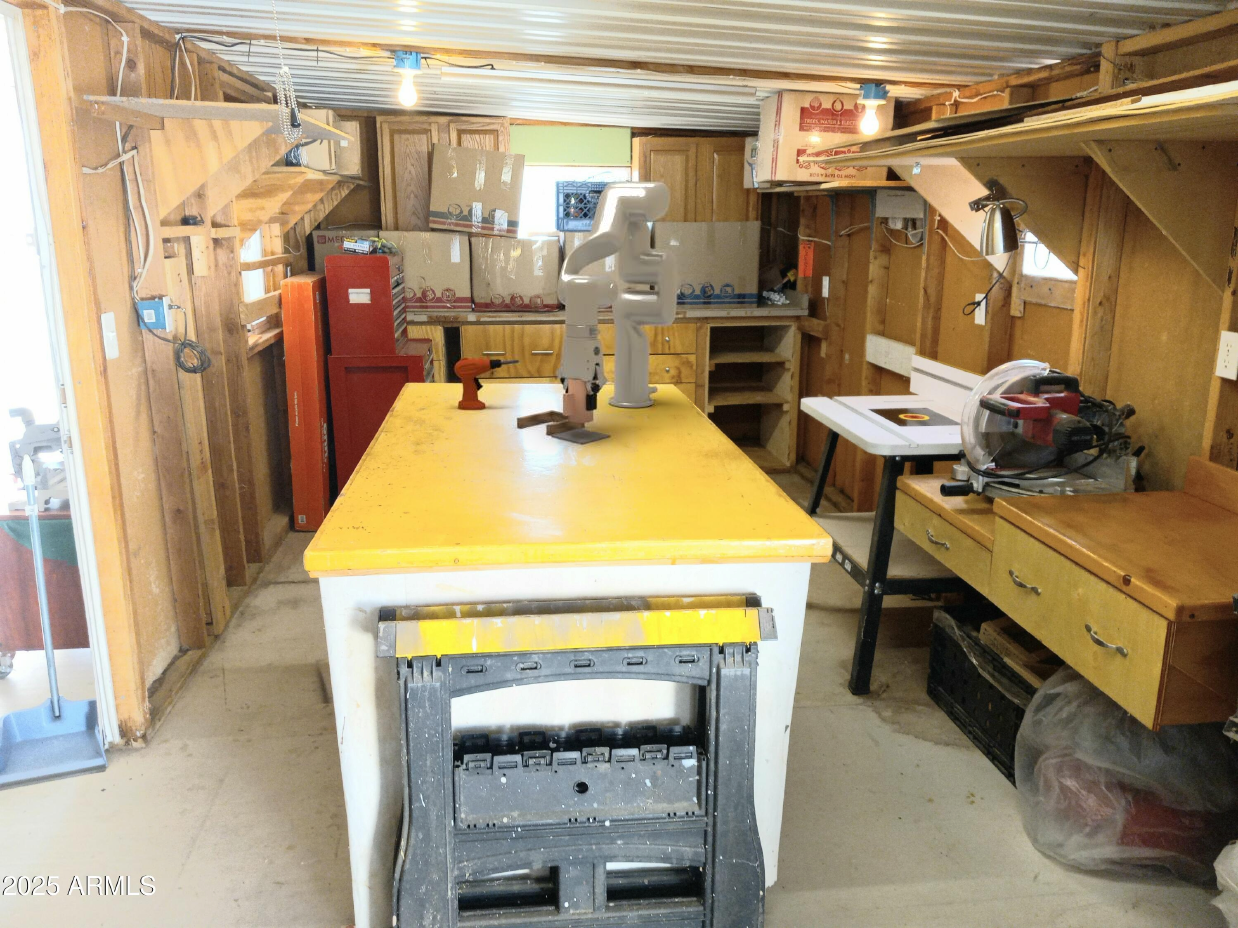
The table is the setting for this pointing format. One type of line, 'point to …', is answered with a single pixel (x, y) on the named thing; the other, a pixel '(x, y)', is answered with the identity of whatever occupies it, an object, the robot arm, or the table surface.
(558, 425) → the brown wooden u-shaped piece
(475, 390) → the toy drill
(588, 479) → the table surface
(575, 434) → the mat
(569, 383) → the pink mug
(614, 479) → the table surface
